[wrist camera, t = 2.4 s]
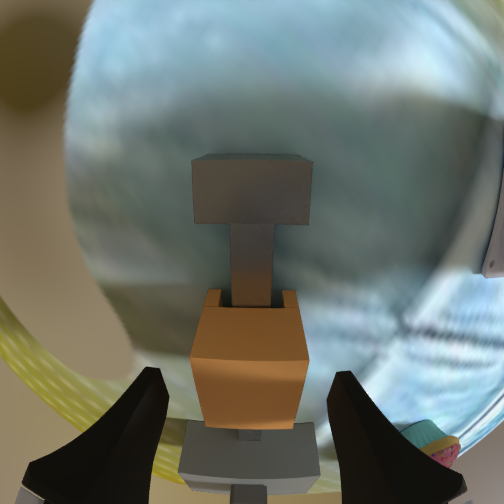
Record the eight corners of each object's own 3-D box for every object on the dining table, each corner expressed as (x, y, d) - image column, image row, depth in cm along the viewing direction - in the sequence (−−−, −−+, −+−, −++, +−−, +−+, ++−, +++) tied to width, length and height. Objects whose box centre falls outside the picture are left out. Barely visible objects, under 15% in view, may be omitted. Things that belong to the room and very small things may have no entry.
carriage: (208, 288, 12) (189, 357, 8) (295, 290, 12) (309, 360, 8) (216, 362, 15) (205, 426, 10) (286, 363, 14) (292, 428, 10)
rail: (207, 154, 10) (191, 160, 8) (298, 155, 10) (312, 162, 8) (228, 431, 19) (226, 459, 16) (272, 432, 19) (273, 460, 16)
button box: (185, 419, 18) (171, 491, 12) (313, 422, 18) (322, 496, 12) (196, 447, 21) (187, 506, 14) (302, 449, 20) (307, 509, 14)
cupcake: (377, 432, 20) (401, 533, 9) (452, 397, 18) (490, 487, 7) (380, 455, 23) (397, 532, 12) (441, 427, 21) (467, 499, 10)
